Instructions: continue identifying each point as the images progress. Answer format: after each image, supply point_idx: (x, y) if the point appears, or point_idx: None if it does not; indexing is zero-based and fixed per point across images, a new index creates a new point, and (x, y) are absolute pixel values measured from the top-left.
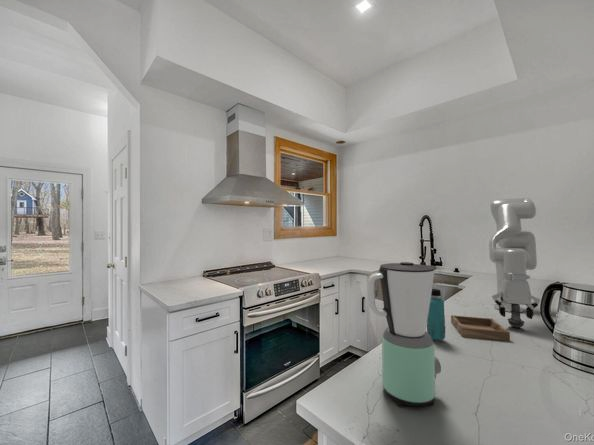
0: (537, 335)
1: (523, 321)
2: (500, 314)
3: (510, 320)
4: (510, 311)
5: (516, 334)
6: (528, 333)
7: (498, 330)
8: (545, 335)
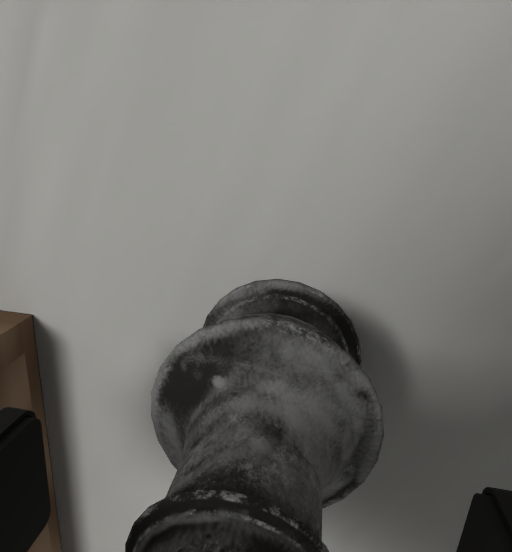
0: (398, 515)
1: (361, 464)
2: (9, 408)
3: (172, 440)
4: (128, 539)
5: None
6: None
7: None
8: None
